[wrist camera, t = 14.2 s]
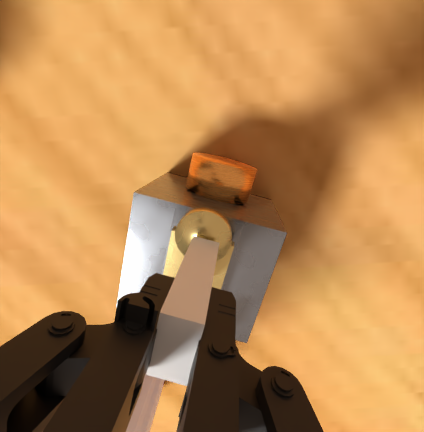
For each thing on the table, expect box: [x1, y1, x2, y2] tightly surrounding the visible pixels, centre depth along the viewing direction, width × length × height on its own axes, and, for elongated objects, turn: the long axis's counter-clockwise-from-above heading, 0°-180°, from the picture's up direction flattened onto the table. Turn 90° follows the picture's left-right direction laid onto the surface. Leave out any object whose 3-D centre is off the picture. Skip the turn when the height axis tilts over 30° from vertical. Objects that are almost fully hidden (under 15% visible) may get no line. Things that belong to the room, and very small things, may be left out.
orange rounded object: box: [186, 152, 257, 204], centre depth 22 cm, size 12×5×5 cm, turn 166°
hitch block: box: [116, 172, 287, 343], centre depth 20 cm, size 8×9×10 cm
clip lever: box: [163, 208, 234, 289], centre depth 16 cm, size 8×4×1 cm, turn 166°
